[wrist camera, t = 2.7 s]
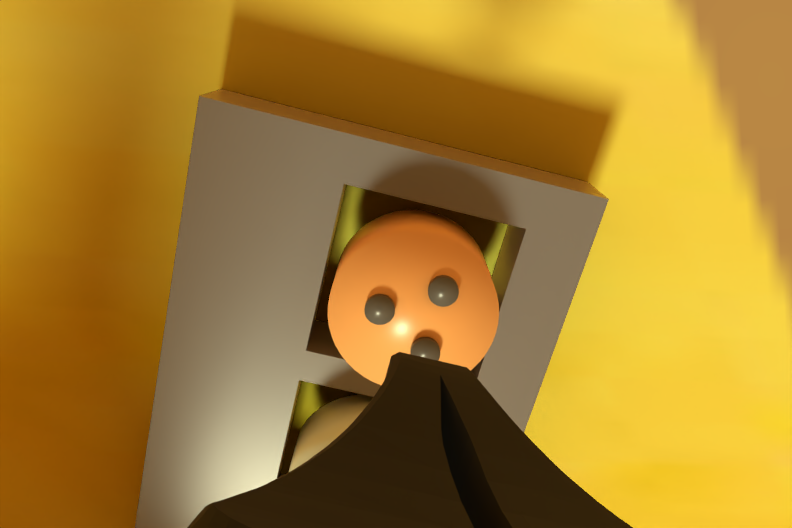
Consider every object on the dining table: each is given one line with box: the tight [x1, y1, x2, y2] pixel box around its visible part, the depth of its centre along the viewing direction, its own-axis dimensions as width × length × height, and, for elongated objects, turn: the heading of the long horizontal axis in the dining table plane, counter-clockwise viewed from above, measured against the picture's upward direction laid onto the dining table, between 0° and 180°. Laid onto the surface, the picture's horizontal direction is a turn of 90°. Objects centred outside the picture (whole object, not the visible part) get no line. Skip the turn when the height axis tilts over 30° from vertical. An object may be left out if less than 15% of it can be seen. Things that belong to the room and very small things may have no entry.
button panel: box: [135, 89, 609, 528], centre depth 20 cm, size 18×10×2 cm, turn 166°
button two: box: [289, 395, 373, 472], centre depth 18 cm, size 4×4×2 cm
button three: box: [328, 210, 499, 385], centre depth 16 cm, size 4×4×2 cm
